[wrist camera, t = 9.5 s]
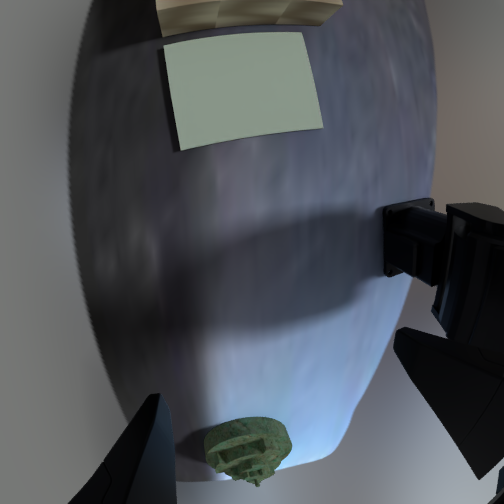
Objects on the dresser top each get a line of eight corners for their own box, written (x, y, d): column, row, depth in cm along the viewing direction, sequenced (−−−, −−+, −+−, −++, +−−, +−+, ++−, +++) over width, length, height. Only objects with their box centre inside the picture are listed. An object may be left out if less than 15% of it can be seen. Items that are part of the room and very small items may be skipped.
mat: (299, 34, 15) (301, 32, 15) (320, 128, 18) (323, 128, 18) (164, 47, 14) (163, 45, 14) (181, 150, 17) (181, 150, 16)
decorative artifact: (214, 462, 28) (287, 447, 30) (222, 505, 22) (303, 487, 23) (193, 425, 25) (283, 406, 26) (198, 478, 18) (303, 456, 20)
